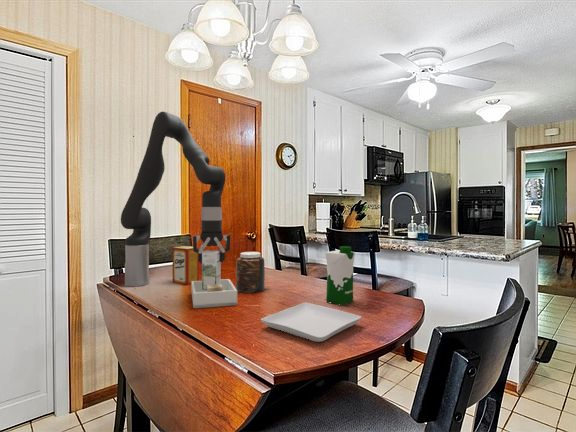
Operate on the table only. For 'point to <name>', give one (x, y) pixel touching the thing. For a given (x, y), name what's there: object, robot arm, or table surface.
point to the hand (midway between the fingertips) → (211, 262)
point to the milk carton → (340, 275)
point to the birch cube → (214, 288)
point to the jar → (250, 272)
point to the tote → (213, 295)
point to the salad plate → (311, 321)
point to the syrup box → (211, 268)
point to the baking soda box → (185, 265)
